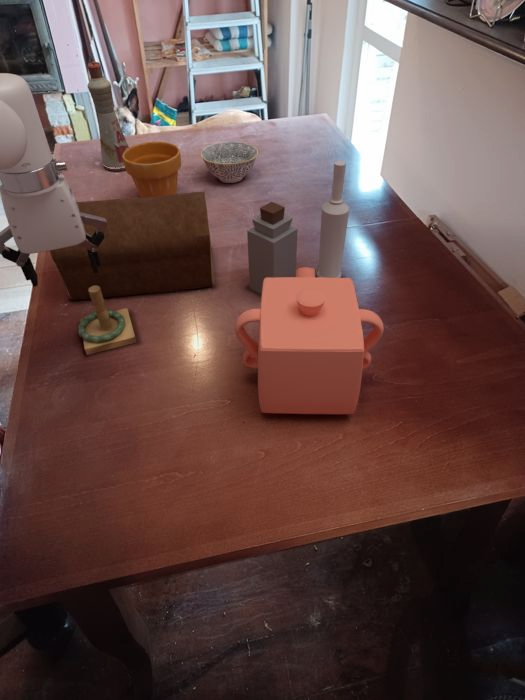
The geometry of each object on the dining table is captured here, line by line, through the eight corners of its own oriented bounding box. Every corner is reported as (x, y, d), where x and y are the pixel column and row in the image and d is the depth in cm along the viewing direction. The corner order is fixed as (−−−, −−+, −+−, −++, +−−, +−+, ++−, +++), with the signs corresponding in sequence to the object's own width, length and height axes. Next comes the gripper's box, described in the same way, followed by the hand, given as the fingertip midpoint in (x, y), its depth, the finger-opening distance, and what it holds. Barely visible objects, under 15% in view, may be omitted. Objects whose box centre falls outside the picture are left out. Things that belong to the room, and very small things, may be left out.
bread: (80, 256, 109) (57, 189, 98) (210, 245, 112) (203, 178, 100) (68, 306, 96) (41, 235, 85) (216, 291, 99) (208, 221, 88)
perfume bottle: (249, 287, 99) (246, 208, 87) (271, 273, 103) (271, 195, 90) (273, 301, 96) (273, 220, 84) (295, 286, 100) (298, 206, 87)
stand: (86, 355, 86) (69, 310, 79) (82, 324, 92) (65, 280, 85) (136, 342, 88) (124, 297, 81) (128, 313, 94) (116, 269, 87)
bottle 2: (315, 286, 100) (324, 168, 82) (317, 271, 103) (326, 156, 86) (340, 288, 99) (354, 170, 81) (341, 273, 103) (355, 157, 85)
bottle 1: (105, 161, 147) (79, 57, 128) (135, 159, 148) (113, 55, 128) (101, 173, 141) (73, 66, 121) (132, 171, 142) (110, 64, 122)
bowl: (226, 162, 145) (225, 136, 140) (269, 174, 138) (269, 148, 133) (191, 181, 136) (188, 155, 131) (235, 195, 129) (234, 168, 124)
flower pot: (195, 203, 126) (189, 154, 117) (146, 219, 121) (136, 169, 112) (171, 184, 135) (164, 137, 126) (124, 198, 129) (113, 149, 120)
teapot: (244, 317, 93) (239, 236, 80) (361, 318, 92) (374, 237, 79) (234, 421, 75) (227, 337, 62) (379, 423, 74) (401, 339, 61)
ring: (82, 348, 85) (80, 343, 84) (77, 320, 91) (75, 315, 90) (129, 336, 87) (127, 331, 86) (121, 309, 93) (120, 304, 92)
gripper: (89, 155, 72) (115, 253, 84) (-36, 174, 68) (10, 274, 80) (94, 175, 67) (121, 276, 79) (-40, 197, 63) (10, 300, 75)
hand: (66, 275), depth 79 cm, fingers open, 9 cm apart
